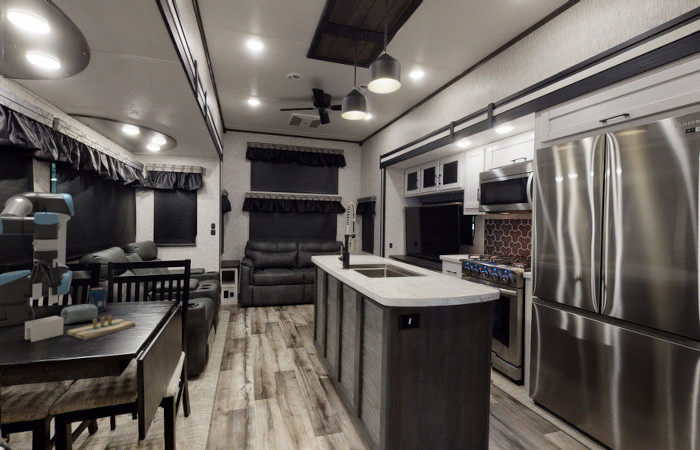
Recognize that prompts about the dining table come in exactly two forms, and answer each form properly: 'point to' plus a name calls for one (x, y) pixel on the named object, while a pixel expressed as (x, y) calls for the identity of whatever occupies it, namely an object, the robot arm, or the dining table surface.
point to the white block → (43, 328)
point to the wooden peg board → (100, 328)
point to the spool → (79, 313)
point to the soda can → (97, 298)
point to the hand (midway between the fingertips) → (45, 301)
